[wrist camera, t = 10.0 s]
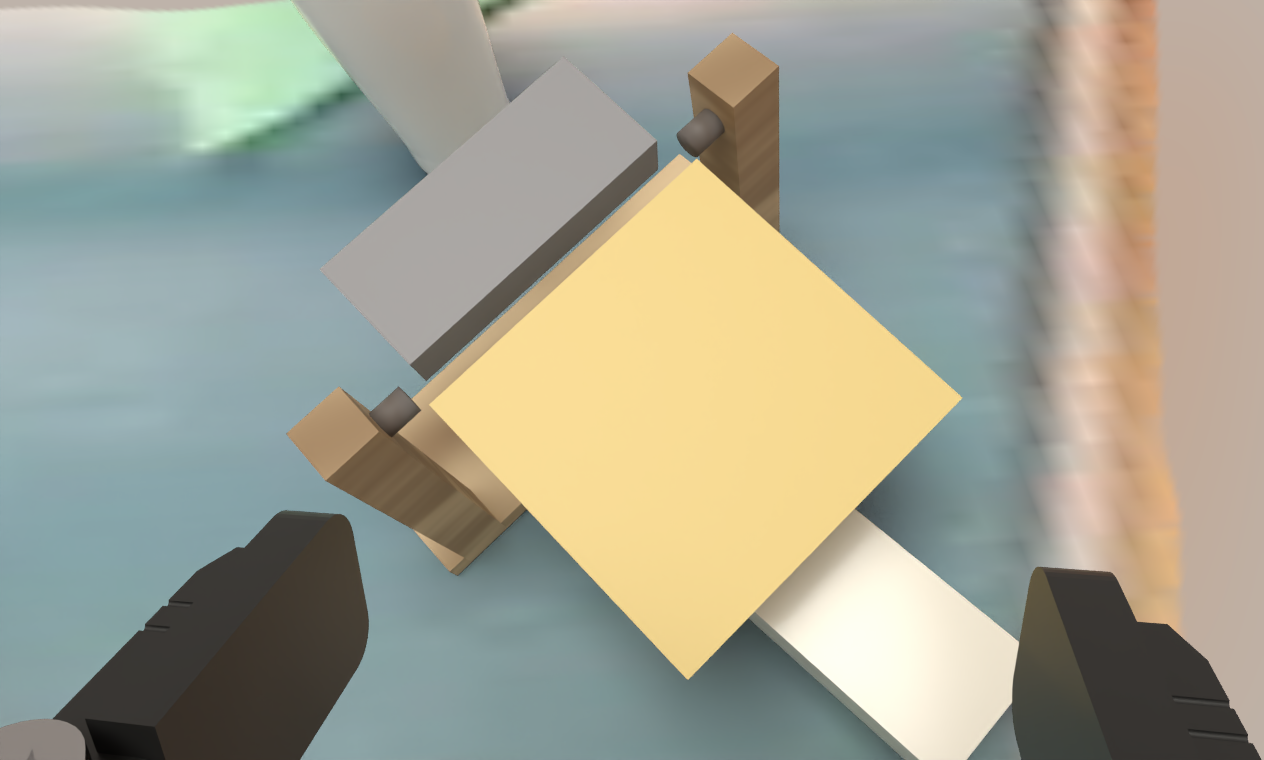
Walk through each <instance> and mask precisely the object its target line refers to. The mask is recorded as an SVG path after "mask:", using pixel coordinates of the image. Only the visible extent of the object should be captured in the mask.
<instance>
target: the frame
mask: <svg viewBox="0 0 1264 760" xmlns="http://www.w3.org/2000/svg"><path fill="white" fill-rule="evenodd" d="M688 79H689V86H690V93H691V100H692V107H693V114H694V118H693V119H692V120H691V121H690V122H689V123H688V124H687V125H686V126H685V127H684V128H682V129H681V130H680V131H679V132H678V133H677V138H678V141H679V143H680V144H681V146H682V147H683V148H684V149H685V150H686V151H687V152H688V153H689V154H690V155H692V156H694V157H698V156H700V162H701V163H702V164H703V165H704V166H705V167H706V168H708V169H709V170H710V171H711V172H712V173H713V174H714V175H715V176H716V177H718V178H719V179H720V180H721V181H722V182H723V183H724V184H725V185H726V186H728V187H729V188H730V189H731V190H732V191H733V192H734V193H735V194H736V195H738V196H739V197H740V198H741V199H742V200H743V201H744V202H745V203H746V204H748V205H749V206H750V207H751V208H752V209H753V210H754V211H755V212H756V213H758V214H759V215H760V216H761V217H762V218H763V219H764V220H765V221H766V222H768V223H769V224H770V225H771V226H772V227H773V228H774V229H775V230H776V231H778V232H779V66H778V65H777V64H775V63H774V62H772V61H771V60H770V59H768V58H767V57H765V56H764V55H763V54H761V53H760V52H758V51H757V50H756V49H754V48H753V47H751V46H750V45H749V44H747V43H746V42H744V41H743V40H742V39H740V38H739V37H737V36H736V35H735V34H733V33H732V34H731V35H729V36H728V37H727V38H726V39H725V40H724V41H723V42H722V43H721V44H719V45H718V46H717V47H716V48H715V49H714V50H713V51H712V52H711V53H709V54H708V55H707V56H706V57H705V58H704V59H703V60H702V61H701V62H699V63H698V64H697V65H696V66H695V67H694V68H693V69H692V70H690V71H689V72H688ZM689 165H691V163H690V162H689V161H688V160H686V159H685V158H684V157H683V156H681V155H680V154H679V155H678V156H677V157H676V158H675V159H674V160H672V161H671V162H670V163H669V164H668V165H667V166H666V167H665V168H664V169H663V170H662V171H660V172H659V173H658V174H657V175H656V176H655V177H654V178H653V179H652V180H651V181H650V182H648V183H647V184H646V185H645V186H644V187H643V188H642V189H641V190H640V191H639V192H637V193H636V194H635V195H634V196H633V197H632V198H631V199H630V200H629V201H628V202H627V203H625V204H624V205H623V206H622V207H621V208H620V209H619V210H618V211H617V212H616V213H614V214H613V215H612V216H611V217H610V218H609V219H608V220H607V221H606V222H605V223H604V224H602V225H601V226H600V227H599V228H598V229H597V230H596V231H595V232H594V233H593V234H592V235H590V236H589V237H588V238H587V239H586V240H585V241H584V242H583V243H582V244H581V245H579V246H578V247H577V248H576V249H575V250H574V251H573V252H572V253H571V254H570V255H569V256H567V257H566V258H565V259H564V260H563V261H562V262H561V263H560V264H559V265H558V266H557V267H555V268H554V269H553V270H552V271H551V272H550V273H549V274H548V275H547V276H546V277H544V278H543V279H542V280H541V281H540V282H539V283H538V284H537V285H536V286H535V287H534V288H532V289H531V290H530V291H529V292H528V293H527V294H526V295H525V296H524V297H523V298H522V299H520V300H519V301H518V302H517V303H516V304H515V305H514V306H513V307H512V308H511V309H509V310H508V311H507V312H506V313H505V314H504V315H503V316H502V317H501V318H500V319H499V320H497V321H496V322H495V323H494V324H493V325H492V326H491V327H490V328H489V329H488V330H487V331H485V332H484V333H483V334H482V335H481V336H480V337H479V338H478V339H477V340H476V341H474V342H473V343H472V344H471V345H470V346H469V347H468V348H467V349H466V350H465V351H464V352H462V353H461V354H460V355H459V356H458V357H457V358H456V359H455V360H454V361H453V362H452V363H450V364H449V365H448V366H447V367H446V368H445V369H444V370H443V371H442V372H441V373H439V374H438V375H437V376H436V377H435V378H434V379H433V380H432V381H431V382H430V383H429V384H427V385H426V386H425V387H424V388H423V389H422V390H421V391H420V392H419V393H418V394H416V395H415V396H414V397H413V398H412V399H411V398H410V397H409V396H408V395H407V394H406V393H405V392H404V391H403V390H402V389H401V388H400V387H398V388H397V389H395V390H394V391H393V392H392V393H391V394H390V395H389V396H388V397H387V398H386V399H384V400H383V401H382V402H381V403H380V404H379V405H378V406H377V407H376V408H375V409H373V410H372V411H369V410H368V409H367V408H366V407H364V406H363V405H362V404H360V403H359V402H358V401H357V400H355V399H354V398H353V397H352V396H350V395H349V394H348V393H346V392H345V391H344V390H343V389H341V388H340V387H338V388H337V389H335V390H334V391H333V392H332V393H331V394H330V395H329V396H328V397H327V398H325V399H324V400H323V401H322V402H321V403H320V404H319V405H318V406H317V407H315V408H314V409H313V410H312V411H311V412H310V413H309V414H308V415H307V416H305V417H304V418H303V419H302V420H301V421H300V422H299V423H298V424H297V425H295V426H294V427H293V428H292V429H291V430H290V431H289V432H288V433H286V434H287V435H288V437H289V438H290V439H291V440H292V441H293V442H294V444H295V445H296V446H297V447H298V448H299V450H300V451H301V452H302V453H303V454H304V456H305V457H306V458H307V459H308V460H309V462H310V463H311V464H312V465H313V466H314V468H315V469H316V470H317V471H318V472H319V474H320V475H321V476H322V477H323V478H324V480H325V481H327V482H329V483H330V484H332V485H334V486H336V487H338V488H339V489H341V490H343V491H345V492H347V493H348V494H350V495H352V496H354V497H356V498H357V499H359V500H361V501H363V502H365V503H366V504H368V505H370V506H372V507H374V508H375V509H377V510H379V511H381V512H383V513H384V514H386V515H388V516H390V517H392V518H394V519H395V520H397V521H399V522H401V523H403V524H404V525H406V526H408V527H410V528H412V529H413V530H414V531H415V532H416V533H417V534H418V536H419V537H420V538H421V539H422V540H423V541H424V543H425V544H426V545H427V546H428V547H429V548H430V550H431V551H432V552H433V553H434V554H435V555H436V557H437V558H438V559H439V560H440V561H441V562H442V564H443V565H444V566H445V567H446V568H447V569H448V570H449V572H451V573H453V574H455V575H457V576H458V575H459V574H460V573H461V572H462V571H463V570H464V569H465V568H466V567H467V566H468V565H469V564H470V563H471V562H472V561H473V560H474V559H475V558H476V557H477V556H479V555H480V554H481V553H482V552H483V551H484V550H485V549H486V548H487V547H488V546H489V545H490V544H491V543H492V542H493V541H494V540H495V539H496V538H497V537H498V536H499V535H500V534H501V533H503V532H504V531H505V530H506V529H507V528H508V527H509V526H510V525H511V524H512V523H513V522H514V521H515V520H516V519H517V518H518V517H519V516H520V515H521V514H522V513H523V512H524V511H525V510H527V509H526V507H525V506H524V505H523V504H522V503H521V502H520V501H519V500H518V499H517V498H516V497H515V496H514V495H513V494H512V493H511V492H510V490H509V489H508V488H507V487H506V486H505V485H504V484H503V483H502V482H501V481H500V480H499V479H498V478H497V477H496V476H495V474H494V473H493V472H492V471H491V470H490V469H489V468H488V467H487V466H486V465H485V464H484V463H483V462H482V461H481V460H480V459H479V457H478V456H477V455H476V454H475V453H474V452H473V451H472V450H471V449H470V448H469V447H468V446H467V445H466V444H465V443H464V442H463V440H462V439H461V438H460V437H459V436H458V435H457V434H456V433H455V432H454V431H453V430H452V429H451V428H450V427H449V426H448V425H447V423H446V422H445V421H444V420H443V419H442V418H441V417H440V416H439V415H438V414H437V413H436V412H435V411H434V410H433V409H432V407H431V406H430V405H429V404H430V403H431V402H433V401H434V400H435V399H436V398H437V397H438V396H439V395H440V394H441V393H442V392H443V391H445V390H446V389H447V388H448V387H449V386H450V385H451V384H452V383H453V382H454V381H455V380H457V379H458V378H459V377H460V376H461V375H462V374H463V373H464V372H465V371H466V370H467V369H468V368H470V367H471V366H472V365H473V364H474V363H475V362H476V361H477V360H478V359H479V358H480V357H482V356H483V355H484V354H485V353H486V352H487V351H488V350H489V349H490V348H491V347H492V346H494V345H495V344H496V343H497V342H498V341H499V340H500V339H501V338H502V337H503V336H504V335H505V334H507V333H508V332H509V331H510V330H511V329H512V328H513V327H514V326H515V325H516V324H517V323H519V322H520V321H521V320H522V319H523V318H524V317H525V316H526V315H527V314H528V313H529V312H531V311H532V310H533V309H534V308H535V307H536V306H537V305H538V304H539V303H540V302H541V301H543V300H544V299H545V298H546V297H547V296H548V295H549V294H550V293H551V292H552V291H553V290H554V289H556V288H557V287H558V286H559V285H560V284H561V283H562V282H563V281H564V280H565V279H566V278H568V277H569V276H570V275H571V274H572V273H573V272H574V271H575V270H576V269H577V268H578V267H580V266H581V265H582V264H583V263H584V262H585V261H586V260H587V259H588V258H589V257H590V256H591V255H593V254H594V253H595V252H596V251H597V250H598V249H599V248H600V247H601V246H602V245H603V244H605V243H606V242H607V241H608V240H609V239H610V238H611V237H612V236H613V235H614V234H615V233H617V232H618V231H619V230H620V229H621V228H622V227H623V226H624V225H625V224H626V223H627V222H629V221H630V220H631V219H632V218H633V217H634V216H635V215H636V214H637V213H638V212H639V211H640V210H642V209H643V208H644V207H645V206H646V205H647V204H648V203H649V202H650V201H651V200H652V199H654V198H655V197H656V196H657V195H658V194H659V193H660V192H661V191H662V190H663V189H664V188H666V187H667V186H668V185H669V184H670V183H671V182H672V181H673V180H674V179H675V178H676V177H678V176H679V175H680V174H681V173H682V172H683V171H684V170H685V169H686V168H687V167H688V166H689Z"/></svg>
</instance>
